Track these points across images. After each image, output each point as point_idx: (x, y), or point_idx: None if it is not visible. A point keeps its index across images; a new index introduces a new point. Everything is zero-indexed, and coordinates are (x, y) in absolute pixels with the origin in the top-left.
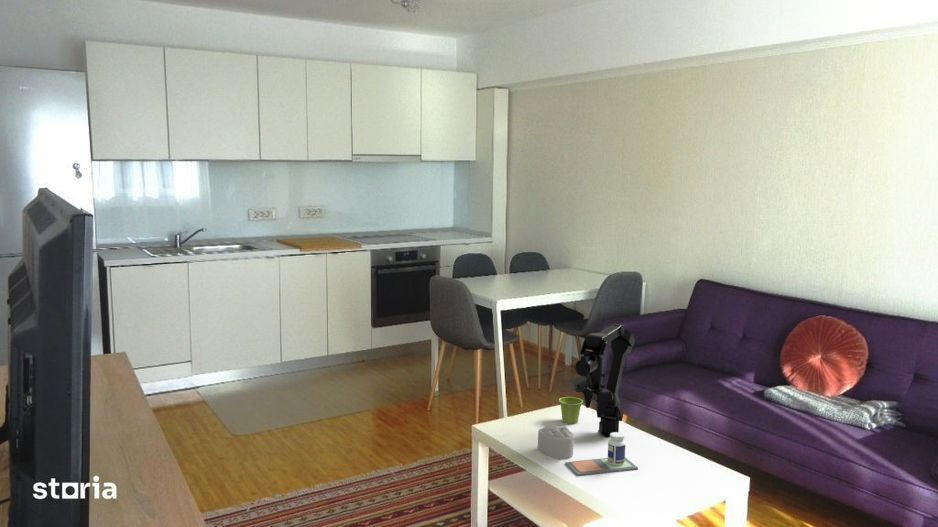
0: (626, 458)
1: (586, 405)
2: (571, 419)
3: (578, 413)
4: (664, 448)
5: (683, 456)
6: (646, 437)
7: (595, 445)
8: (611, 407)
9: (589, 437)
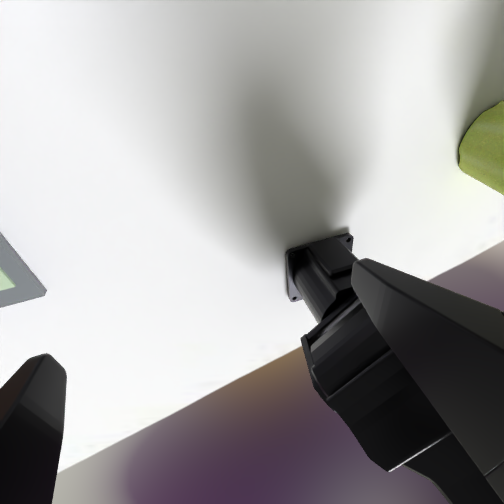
0: (12, 303)
1: (373, 278)
2: (482, 141)
3: (496, 187)
4: (175, 391)
5: (114, 425)
6: (265, 356)
7: (200, 193)
8: (335, 392)
9: (301, 185)
